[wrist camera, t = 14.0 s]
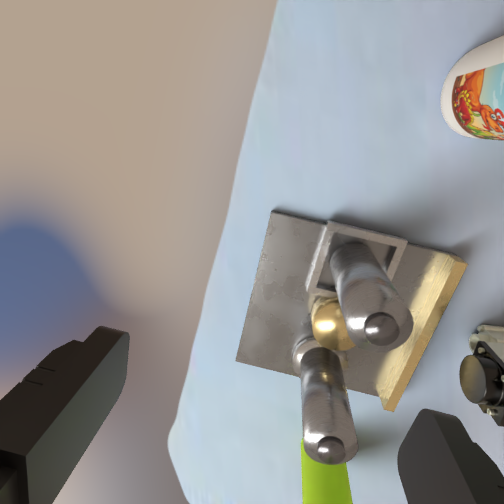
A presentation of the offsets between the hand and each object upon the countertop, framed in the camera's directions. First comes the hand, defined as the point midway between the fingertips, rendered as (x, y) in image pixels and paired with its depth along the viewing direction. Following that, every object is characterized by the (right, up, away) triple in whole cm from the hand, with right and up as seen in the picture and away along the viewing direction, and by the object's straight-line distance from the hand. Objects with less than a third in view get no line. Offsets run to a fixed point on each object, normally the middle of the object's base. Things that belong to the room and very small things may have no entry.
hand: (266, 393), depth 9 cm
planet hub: (+10, +3, +27) cm, 29 cm away
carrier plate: (+9, -3, +30) cm, 32 cm away
